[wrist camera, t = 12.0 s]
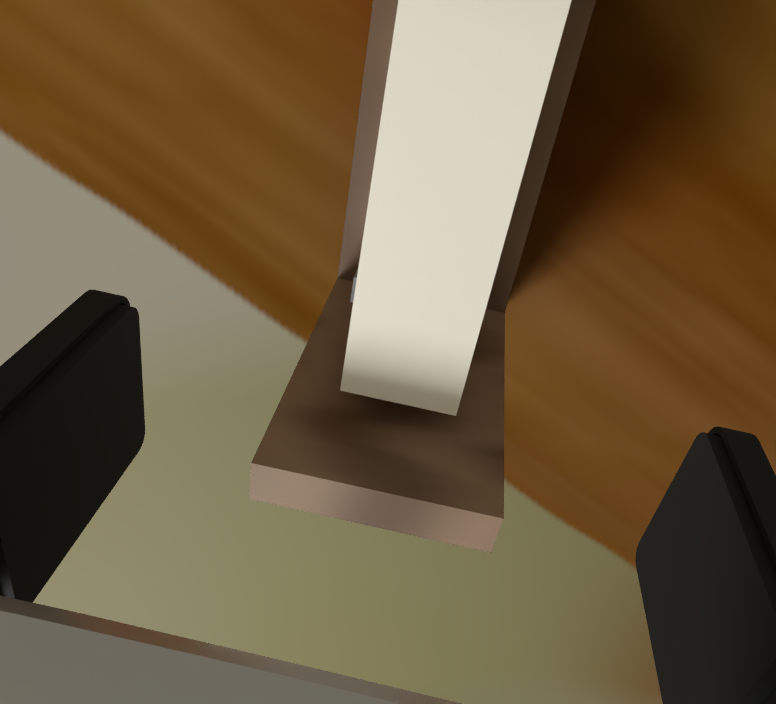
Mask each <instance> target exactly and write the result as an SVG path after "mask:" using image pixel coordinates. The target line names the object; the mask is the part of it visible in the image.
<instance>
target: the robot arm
mask: <svg viewBox="0 0 776 704" xmlns="http://www.w3.org/2000/svg"><path fill="white" fill-rule="evenodd" d="M144 435H145V419H144V401H143V383H142V364H141V347H140V328H139V314H138V311H137V309H136V308H134V307H130V303H129V301H128V299H127V298H126V297H124V296H120V295H115V294H111V293H106V292H101V291H97V290H89V291H87V292H85V293H84V294H83V295H82V296H81V297H79V298H78V299H77V300H76V301H75V302H74V303H73V304H72V305H70V306H69V307H68V308H67V309H66V310H65V311H63V312H62V313H61V314H60V315H59V316H58V317H57V318H55V319H54V320H53V321H52V322H51V323H50V324H48V325H47V326H46V327H45V328H44V329H43V330H42V331H40V332H39V333H38V334H37V335H36V336H35V337H34V338H33V339H31V340H30V341H29V342H28V343H27V344H26V345H24V346H23V347H22V348H21V349H20V350H19V351H18V352H16V353H15V354H14V355H13V356H12V357H11V358H9V359H8V360H7V361H6V362H5V363H4V364H3V365H1V366H0V704H460V703H456V702H453V701H448V700H444V699H440V698H436V697H432V696H428V695H423V694H419V693H415V692H411V691H407V690H403V689H399V688H394V687H390V686H386V685H382V684H378V683H373V682H369V681H365V680H361V679H357V678H353V677H349V676H345V675H340V674H336V673H332V672H328V671H324V670H319V669H315V668H311V667H307V666H303V665H298V664H294V663H290V662H286V661H282V660H278V659H273V658H269V657H265V656H261V655H256V654H252V653H248V652H244V651H239V650H236V649H231V648H227V647H222V646H218V645H214V644H210V643H206V642H201V641H197V640H193V639H189V638H184V637H180V636H176V635H171V634H167V633H163V632H159V631H154V630H150V629H146V628H142V627H137V626H133V625H128V624H124V623H120V622H116V621H112V620H107V619H103V618H98V617H95V616H90V615H86V614H82V613H77V612H73V611H68V610H63V609H59V608H54V607H50V606H45V605H40V604H36V603H32V602H33V601H34V600H35V598H36V597H37V595H38V594H39V593H40V591H41V590H42V588H43V587H44V585H45V584H46V582H47V581H48V580H49V578H50V577H51V576H52V574H53V573H54V571H55V570H56V568H57V567H58V566H59V564H60V563H61V561H62V560H63V558H64V557H65V556H66V554H67V553H68V551H69V550H70V548H71V547H72V546H73V544H74V543H75V541H76V540H77V539H78V537H79V536H80V534H81V533H82V531H83V530H84V528H85V527H86V526H87V524H88V523H89V521H90V520H91V519H92V517H93V516H94V514H95V513H96V511H97V510H98V508H99V507H100V506H101V504H102V503H103V501H104V500H105V499H106V497H107V496H108V494H109V493H110V492H111V490H112V489H113V487H114V486H115V484H116V483H117V482H118V480H119V479H120V477H121V476H122V475H123V473H124V471H125V470H126V469H127V467H128V466H129V465H130V463H131V462H132V460H133V459H134V457H135V456H136V455H137V453H138V452H139V450H140V448H141V446H142V443H143V440H144ZM636 568H637V573H638V578H639V583H640V588H641V593H642V598H643V603H644V609H645V613H646V619H647V624H648V629H649V635H650V640H651V645H652V650H653V655H654V660H655V665H656V671H657V676H658V681H659V686H660V691H661V696H662V701H663V704H776V475H775V473H774V471H773V469H772V467H771V465H770V463H769V461H768V459H767V457H766V455H765V452H764V450H763V448H762V446H761V444H760V442H759V440H758V439H757V437H756V436H755V435H753V434H750V433H746V432H741V431H736V430H732V429H727V428H723V427H714V428H713V429H712V430H710V432H709V433H704V432H703V433H700V434H699V435H698V436H697V437H696V439H695V440H694V442H693V444H692V446H691V448H690V449H689V451H688V453H687V455H686V457H685V459H684V460H683V462H682V464H681V466H680V468H679V470H678V472H677V473H676V475H675V477H674V479H673V481H672V483H671V485H670V486H669V488H668V490H667V492H666V494H665V496H664V497H663V499H662V501H661V503H660V505H659V507H658V509H657V510H656V512H655V514H654V516H653V518H652V520H651V521H650V523H649V525H648V527H647V529H646V531H645V533H644V534H643V536H642V538H641V540H640V542H639V544H638V547H637V552H636Z"/></svg>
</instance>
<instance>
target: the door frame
mask: <svg viewBox="0 0 776 704" xmlns="http://www.w3.org/2000/svg"><path fill="white" fill-rule="evenodd" d="M595 2H596V0H572V1H571V4H570V8H569V12H568V15H567V19H566V22H565V26H564V30H563V33H562V37H561V40H560V44H559V47H558V51H557V55H556V58H555V62H554V65H553V69H552V73H551V76H550V80H549V83H548V87H547V91H546V94H545V98H544V101H543V105H542V109H541V112H540V116H539V119H538V123H537V127H536V130H535V134H534V137H533V141H532V145H531V148H530V152H529V155H528V159H527V163H526V166H525V170H524V173H523V177H522V181H521V184H520V188H519V191H518V195H517V199H516V202H515V206H514V209H513V213H512V217H511V220H510V224H509V227H508V231H507V235H506V238H505V242H504V245H503V249H502V253H501V256H500V260H499V263H498V267H497V271H496V274H495V278H494V281H493V285H492V289H491V292H490V296H489V299H488V303H487V307H486V310H485V314H484V317H483V321H482V324H481V328H480V332H479V335H478V339H477V342H476V346H475V350H474V353H473V357H472V360H471V364H470V368H469V371H468V375H467V378H466V382H465V386H464V389H463V393H462V396H461V400H460V404H459V407H458V411H457V414H456V416H454V415H449V414H445V413H440V412H436V411H431V410H427V409H422V408H418V407H413V406H408V405H404V404H399V403H395V402H390V401H386V400H381V399H376V398H372V397H367V396H363V395H358V394H354V393H349V392H345V391H340V387H341V380H342V374H343V367H344V360H345V354H346V347H347V340H348V334H349V327H350V320H351V314H352V307H353V303H352V302H350V300H351V293H352V286H353V279H354V276H355V273H356V271H357V268H358V266H359V260H360V254H361V247H362V240H363V234H364V227H365V220H366V214H367V207H368V200H369V193H370V187H371V180H372V173H373V167H374V160H375V153H376V147H377V140H378V133H379V127H380V120H381V113H382V107H383V100H384V93H385V87H386V80H387V73H388V67H389V60H390V53H391V47H392V40H393V33H394V27H395V20H396V13H397V7H398V0H373V6H372V14H371V22H370V29H369V37H368V45H367V53H366V61H365V69H364V76H363V84H362V92H361V100H360V108H359V116H358V123H357V131H356V139H355V147H354V155H353V163H352V171H351V178H350V186H349V194H348V202H347V210H346V218H345V225H344V233H343V241H342V249H341V257H340V265H339V272H338V278H337V281H336V283H335V285H334V287H333V289H332V291H331V293H330V296H329V298H328V300H327V302H326V304H325V306H324V308H323V311H322V313H321V315H320V317H319V319H318V321H317V323H316V326H315V328H314V330H313V332H312V334H311V336H310V338H309V340H308V343H307V345H306V347H305V349H304V351H303V353H302V355H301V358H300V360H299V362H298V364H297V366H296V368H295V370H294V373H293V375H292V377H291V379H290V381H289V383H288V385H287V388H286V390H285V392H284V394H283V396H282V398H281V401H280V403H279V405H278V407H277V409H276V411H275V413H274V415H273V418H272V420H271V422H270V424H269V426H268V428H267V431H266V432H265V435H264V437H263V439H262V441H261V443H260V445H259V447H258V450H257V452H256V454H255V456H254V458H253V460H252V463H251V476H250V495H249V499H252V500H257V501H261V502H266V503H271V504H275V505H279V506H284V507H288V508H293V509H297V510H302V511H307V512H311V513H315V514H320V515H324V516H329V517H333V518H338V519H342V520H347V521H351V522H356V523H360V524H365V525H370V526H373V527H379V528H383V529H387V530H392V531H396V532H400V533H405V534H409V535H414V536H418V537H423V538H427V539H432V540H436V541H441V542H445V543H450V544H454V545H459V546H463V547H468V548H472V549H477V550H481V551H486V552H490V553H491V552H492V549H493V546H494V544H495V541H496V538H497V535H498V533H499V530H500V527H501V524H502V522H503V519H504V514H503V513H504V349H505V310H506V307H507V303H508V300H509V296H510V293H511V289H512V286H513V283H514V279H515V276H516V272H517V269H518V266H519V262H520V259H521V255H522V252H523V248H524V245H525V242H526V238H527V235H528V231H529V228H530V224H531V221H532V218H533V214H534V211H535V207H536V204H537V201H538V197H539V194H540V190H541V187H542V183H543V180H544V177H545V173H546V170H547V166H548V163H549V159H550V156H551V153H552V149H553V146H554V142H555V139H556V136H557V132H558V129H559V125H560V122H561V118H562V115H563V112H564V108H565V105H566V101H567V98H568V94H569V91H570V88H571V84H572V81H573V77H574V74H575V71H576V67H577V64H578V60H579V57H580V53H581V50H582V47H583V43H584V40H585V36H586V33H587V29H588V26H589V23H590V19H591V16H592V12H593V9H594V6H595Z"/></svg>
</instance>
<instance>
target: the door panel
mask: <svg viewBox="0 0 776 704" xmlns="http://www.w3.org/2000/svg"><path fill="white" fill-rule="evenodd" d="M571 1H572V0H398V7H397V13H396V20H395V27H394V33H393V40H392V47H391V53H390V60H389V67H388V73H387V80H386V87H385V93H384V100H383V107H382V113H381V120H380V127H379V133H378V140H377V147H376V153H375V160H374V167H373V173H372V180H371V187H370V193H369V200H368V207H367V214H366V220H365V227H364V234H363V240H362V247H361V254H360V260H359V266H358V268H357V271H356V273H355V276H354V279H353V286H352V293H351V300H350V302H352V303H353V307H352V314H351V320H350V327H349V334H348V340H347V347H346V354H345V360H344V367H343V374H342V380H341V387H340V391H345V392H349V393H354V394H358V395H363V396H367V397H372V398H376V399H381V400H386V401H390V402H395V403H399V404H404V405H408V406H413V407H418V408H422V409H427V410H431V411H436V412H440V413H445V414H449V415H454V416H456V414H457V411H458V407H459V404H460V400H461V396H462V393H463V389H464V386H465V382H466V378H467V375H468V371H469V368H470V364H471V360H472V357H473V353H474V350H475V346H476V342H477V339H478V335H479V332H480V328H481V324H482V321H483V317H484V314H485V310H486V307H487V303H488V299H489V296H490V292H491V289H492V285H493V281H494V278H495V274H496V271H497V267H498V263H499V260H500V256H501V253H502V249H503V245H504V242H505V238H506V235H507V231H508V227H509V224H510V220H511V217H512V213H513V209H514V206H515V202H516V199H517V195H518V191H519V188H520V184H521V181H522V177H523V173H524V170H525V166H526V163H527V159H528V155H529V152H530V148H531V145H532V141H533V137H534V134H535V130H536V127H537V123H538V119H539V116H540V112H541V109H542V105H543V101H544V98H545V94H546V91H547V87H548V83H549V80H550V76H551V73H552V69H553V65H554V62H555V58H556V55H557V51H558V47H559V44H560V40H561V37H562V33H563V30H564V26H565V22H566V19H567V15H568V12H569V8H570V4H571Z"/></svg>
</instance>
